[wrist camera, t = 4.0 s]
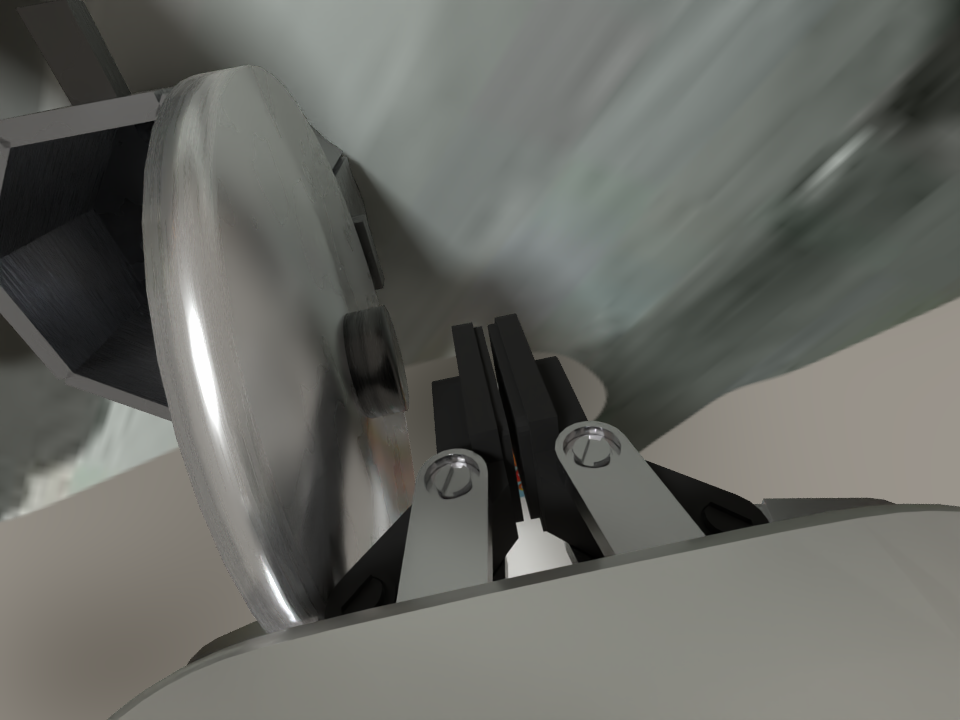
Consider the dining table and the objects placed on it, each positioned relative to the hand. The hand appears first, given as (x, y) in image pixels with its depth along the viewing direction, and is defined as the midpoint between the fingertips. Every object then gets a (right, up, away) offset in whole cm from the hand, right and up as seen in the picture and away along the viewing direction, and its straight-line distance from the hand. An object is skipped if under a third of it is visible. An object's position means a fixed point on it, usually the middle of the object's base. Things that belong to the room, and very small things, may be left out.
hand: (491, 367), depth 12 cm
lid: (-5, 0, +1) cm, 5 cm away
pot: (-14, +8, +14) cm, 21 cm away
